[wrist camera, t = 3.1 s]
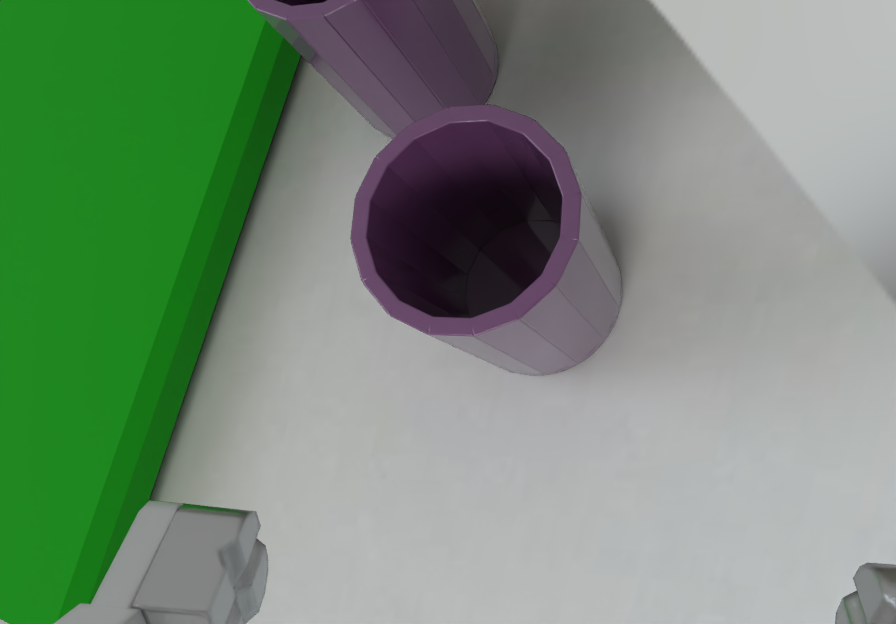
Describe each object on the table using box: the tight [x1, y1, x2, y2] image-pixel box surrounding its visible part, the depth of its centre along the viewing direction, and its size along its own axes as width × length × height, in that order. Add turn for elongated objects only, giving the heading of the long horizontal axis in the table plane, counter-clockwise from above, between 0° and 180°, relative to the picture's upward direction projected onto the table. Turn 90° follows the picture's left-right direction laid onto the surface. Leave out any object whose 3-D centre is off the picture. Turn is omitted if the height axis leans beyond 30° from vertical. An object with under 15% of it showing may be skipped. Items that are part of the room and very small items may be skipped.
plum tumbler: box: [351, 104, 622, 375], centre depth 26 cm, size 6×6×10 cm
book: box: [0, 0, 301, 624], centre depth 37 cm, size 22×28×3 cm
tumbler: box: [247, 0, 498, 139], centre depth 29 cm, size 6×6×10 cm
